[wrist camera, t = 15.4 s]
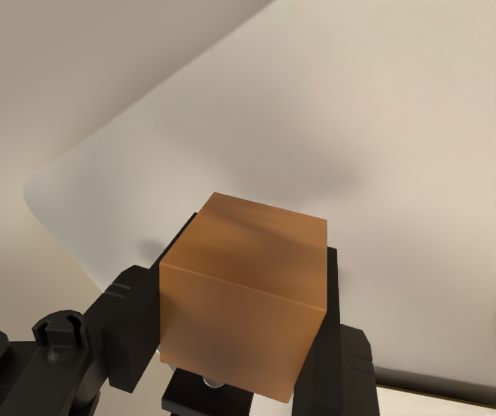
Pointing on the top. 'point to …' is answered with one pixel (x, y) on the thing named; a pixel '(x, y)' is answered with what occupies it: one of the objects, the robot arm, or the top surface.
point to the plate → (426, 404)
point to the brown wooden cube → (244, 295)
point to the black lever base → (204, 396)
